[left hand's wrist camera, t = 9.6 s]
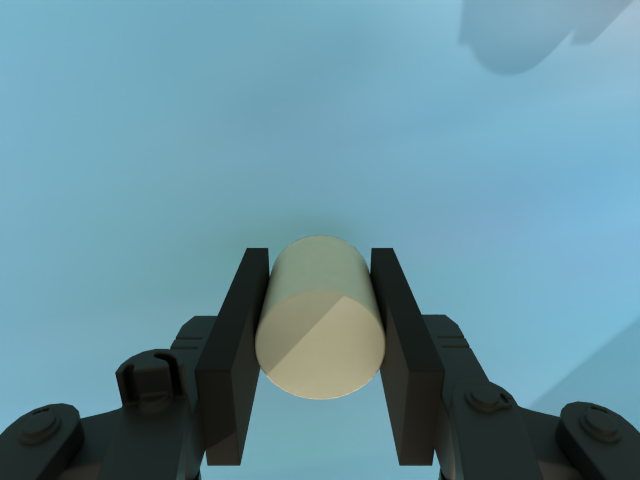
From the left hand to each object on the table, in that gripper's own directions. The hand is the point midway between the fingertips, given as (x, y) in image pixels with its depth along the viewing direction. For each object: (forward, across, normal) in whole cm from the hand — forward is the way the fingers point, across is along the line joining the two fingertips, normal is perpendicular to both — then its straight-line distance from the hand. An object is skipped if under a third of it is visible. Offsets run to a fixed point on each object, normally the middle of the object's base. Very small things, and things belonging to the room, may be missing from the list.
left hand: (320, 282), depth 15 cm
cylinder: (0, 0, 0) cm, 0 cm away
